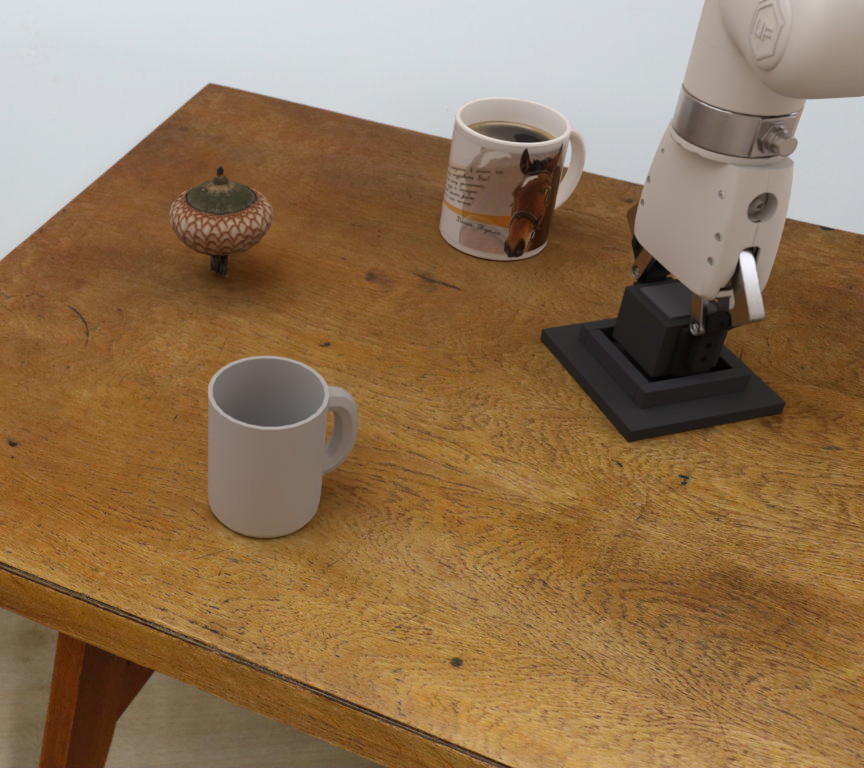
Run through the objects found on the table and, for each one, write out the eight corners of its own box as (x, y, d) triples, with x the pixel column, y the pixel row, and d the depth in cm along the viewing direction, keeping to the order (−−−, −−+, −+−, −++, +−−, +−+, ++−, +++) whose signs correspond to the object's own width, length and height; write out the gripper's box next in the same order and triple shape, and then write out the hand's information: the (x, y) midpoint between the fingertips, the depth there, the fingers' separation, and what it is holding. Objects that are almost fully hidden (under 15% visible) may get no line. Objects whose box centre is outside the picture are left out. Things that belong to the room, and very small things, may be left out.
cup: (190, 480, 72) (189, 371, 67) (326, 443, 76) (336, 336, 71) (234, 554, 67) (236, 442, 62) (378, 510, 71) (392, 400, 66)
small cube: (716, 367, 82) (734, 314, 79) (651, 378, 80) (667, 324, 77) (673, 326, 86) (689, 274, 83) (611, 336, 84) (625, 283, 81)
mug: (444, 198, 106) (460, 87, 99) (571, 215, 104) (596, 103, 97) (434, 252, 97) (451, 135, 91) (572, 272, 96) (600, 154, 89)
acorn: (289, 284, 92) (295, 175, 86) (204, 313, 88) (205, 201, 82) (234, 241, 97) (236, 135, 91) (152, 267, 93) (148, 158, 87)
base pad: (782, 413, 81) (793, 385, 80) (627, 442, 78) (636, 414, 76) (681, 317, 91) (689, 291, 89) (539, 339, 87) (545, 312, 86)
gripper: (874, 173, 66) (779, 409, 77) (706, 66, 79) (645, 282, 90) (769, 186, 64) (687, 427, 75) (614, 74, 77) (563, 294, 88)
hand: (665, 346), depth 83 cm, fingers closed on small cube, 5 cm apart
